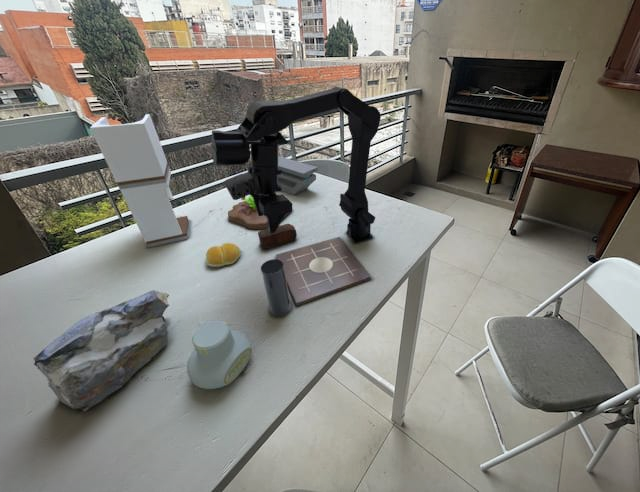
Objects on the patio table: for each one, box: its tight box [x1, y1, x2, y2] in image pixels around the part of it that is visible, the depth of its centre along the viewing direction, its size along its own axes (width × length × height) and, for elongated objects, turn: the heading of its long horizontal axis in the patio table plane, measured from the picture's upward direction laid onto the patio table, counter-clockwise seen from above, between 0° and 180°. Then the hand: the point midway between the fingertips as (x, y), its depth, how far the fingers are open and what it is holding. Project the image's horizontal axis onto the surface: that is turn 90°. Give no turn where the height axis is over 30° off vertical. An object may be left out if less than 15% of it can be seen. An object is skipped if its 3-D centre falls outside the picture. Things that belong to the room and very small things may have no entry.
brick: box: [257, 223, 298, 250], centre depth 86 cm, size 11×4×5 cm, turn 122°
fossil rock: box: [33, 289, 170, 413], centre depth 52 cm, size 20×9×15 cm, turn 153°
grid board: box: [275, 236, 371, 307], centre depth 78 cm, size 20×20×1 cm
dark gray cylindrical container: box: [260, 258, 292, 317], centre depth 62 cm, size 5×5×13 cm
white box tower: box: [89, 113, 190, 248], centre depth 81 cm, size 11×11×35 cm
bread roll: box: [205, 242, 242, 268], centre depth 80 cm, size 8×9×4 cm
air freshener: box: [186, 319, 253, 390], centre depth 51 cm, size 11×8×10 cm
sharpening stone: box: [278, 155, 319, 196], centre depth 117 cm, size 25×8×11 cm, turn 56°
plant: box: [227, 194, 292, 230], centre depth 99 cm, size 20×20×11 cm
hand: (266, 223), depth 70 cm, fingers open, 9 cm apart
